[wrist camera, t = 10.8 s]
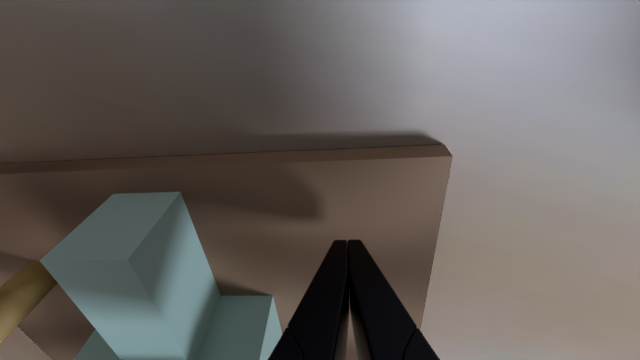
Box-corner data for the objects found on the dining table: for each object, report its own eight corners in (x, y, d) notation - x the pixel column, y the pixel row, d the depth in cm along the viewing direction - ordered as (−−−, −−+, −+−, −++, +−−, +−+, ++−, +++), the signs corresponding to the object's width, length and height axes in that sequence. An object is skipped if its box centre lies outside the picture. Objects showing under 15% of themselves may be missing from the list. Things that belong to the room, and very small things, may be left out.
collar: (292, 376, 16) (279, 491, 13) (171, 373, 17) (124, 483, 13) (247, 189, 10) (190, 314, 6) (51, 195, 10) (-114, 313, 7)
